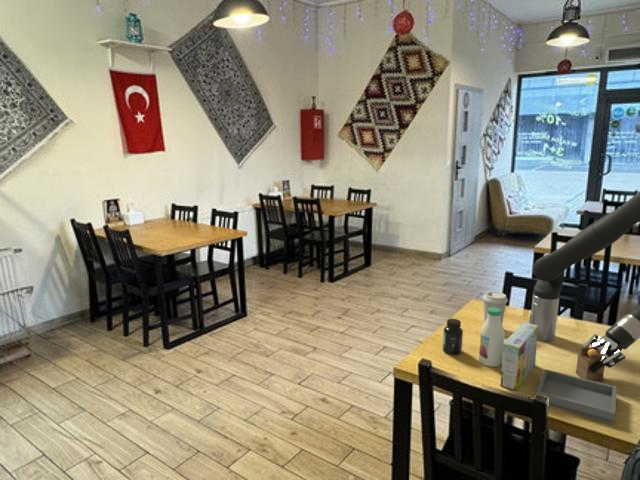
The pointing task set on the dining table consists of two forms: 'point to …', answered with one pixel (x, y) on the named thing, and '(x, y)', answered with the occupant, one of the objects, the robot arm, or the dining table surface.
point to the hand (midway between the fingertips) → (585, 365)
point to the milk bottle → (492, 339)
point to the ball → (592, 352)
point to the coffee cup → (494, 302)
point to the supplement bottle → (452, 337)
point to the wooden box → (586, 362)
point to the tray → (579, 395)
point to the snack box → (519, 355)
